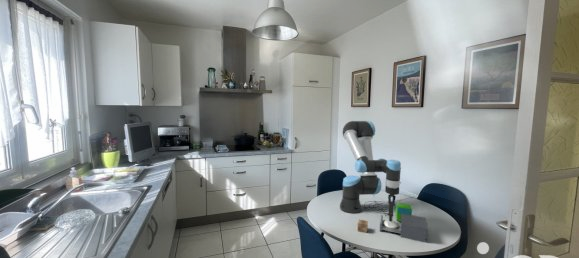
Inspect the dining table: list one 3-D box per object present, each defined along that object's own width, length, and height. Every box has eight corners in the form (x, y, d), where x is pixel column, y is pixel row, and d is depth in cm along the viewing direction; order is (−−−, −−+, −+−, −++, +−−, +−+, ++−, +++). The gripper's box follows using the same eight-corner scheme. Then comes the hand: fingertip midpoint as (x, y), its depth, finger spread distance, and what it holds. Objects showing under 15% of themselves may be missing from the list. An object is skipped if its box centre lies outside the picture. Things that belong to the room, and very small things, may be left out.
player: (400, 237, 132) (401, 223, 131) (400, 225, 144) (401, 213, 144) (427, 242, 126) (428, 228, 125) (424, 230, 139) (425, 217, 138)
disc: (383, 227, 138) (383, 224, 138) (383, 221, 145) (383, 219, 145) (397, 230, 135) (398, 227, 134) (398, 224, 142) (398, 221, 142)
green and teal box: (409, 215, 158) (410, 201, 158) (412, 224, 146) (413, 209, 145) (393, 213, 162) (394, 199, 161) (395, 221, 149) (395, 206, 149)
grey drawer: (379, 230, 137) (379, 223, 137) (380, 222, 148) (381, 215, 147) (403, 235, 132) (403, 228, 132) (403, 226, 143) (403, 219, 142)
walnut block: (357, 231, 138) (357, 222, 137) (358, 227, 142) (359, 219, 142) (366, 233, 136) (366, 224, 135) (367, 229, 140) (367, 221, 140)
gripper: (399, 194, 125) (397, 232, 127) (399, 181, 148) (397, 213, 150) (384, 192, 128) (382, 229, 130) (386, 179, 151) (384, 210, 153)
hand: (390, 220), depth 140 cm, fingers open, 13 cm apart
